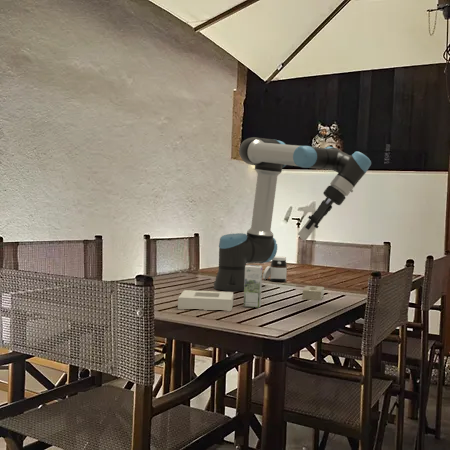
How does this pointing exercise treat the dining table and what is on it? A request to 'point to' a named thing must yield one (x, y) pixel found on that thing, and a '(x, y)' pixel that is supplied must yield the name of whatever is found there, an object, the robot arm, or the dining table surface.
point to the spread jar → (276, 270)
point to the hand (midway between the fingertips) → (301, 238)
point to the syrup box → (252, 286)
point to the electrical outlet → (313, 293)
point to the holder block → (205, 300)
